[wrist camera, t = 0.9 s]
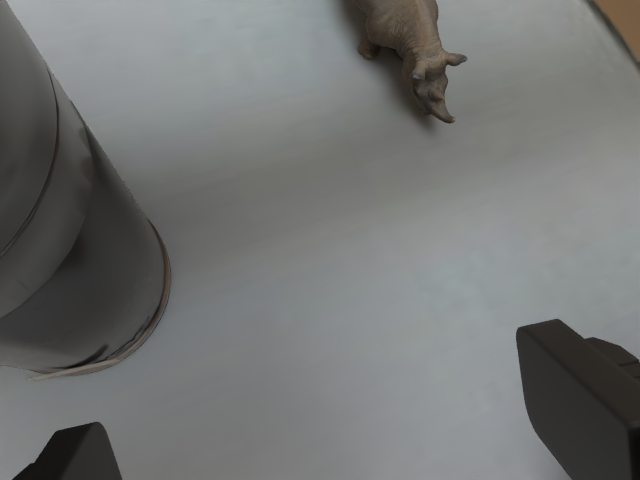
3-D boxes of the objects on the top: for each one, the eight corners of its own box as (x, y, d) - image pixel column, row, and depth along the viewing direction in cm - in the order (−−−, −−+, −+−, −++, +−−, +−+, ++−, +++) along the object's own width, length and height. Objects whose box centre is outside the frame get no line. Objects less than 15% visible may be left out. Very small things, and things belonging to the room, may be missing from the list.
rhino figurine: (401, 158, 34) (429, 108, 28) (313, -36, 37) (322, -117, 31) (464, 136, 35) (505, 83, 29) (373, -52, 38) (393, -134, 32)
